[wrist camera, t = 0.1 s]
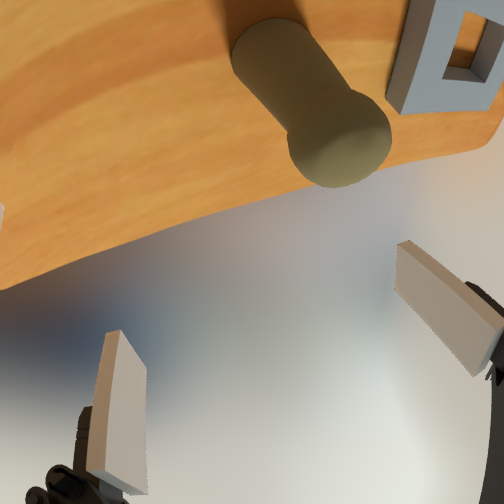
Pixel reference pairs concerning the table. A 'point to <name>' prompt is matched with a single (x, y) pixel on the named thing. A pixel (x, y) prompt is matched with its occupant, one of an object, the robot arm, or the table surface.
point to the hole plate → (446, 59)
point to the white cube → (1, 213)
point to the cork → (312, 103)
